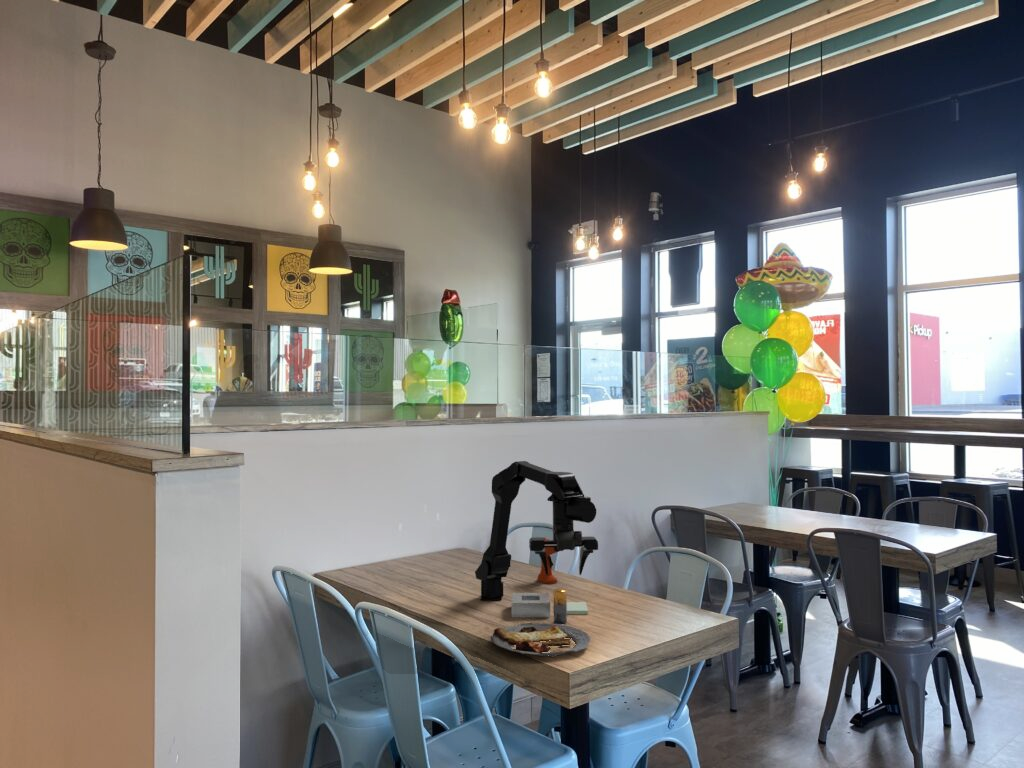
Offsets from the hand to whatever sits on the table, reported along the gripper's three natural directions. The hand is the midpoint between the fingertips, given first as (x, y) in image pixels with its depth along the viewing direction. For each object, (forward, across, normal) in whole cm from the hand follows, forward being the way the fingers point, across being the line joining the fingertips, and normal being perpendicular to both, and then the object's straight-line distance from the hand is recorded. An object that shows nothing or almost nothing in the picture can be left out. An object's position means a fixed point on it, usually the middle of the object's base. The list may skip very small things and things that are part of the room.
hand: (563, 574), depth 214 cm
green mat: (+13, +4, +12) cm, 18 cm away
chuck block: (+13, -9, +11) cm, 19 cm away
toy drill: (+13, +2, +43) cm, 45 cm away
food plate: (+14, -8, -18) cm, 24 cm away
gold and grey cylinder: (+13, -1, -1) cm, 13 cm away
